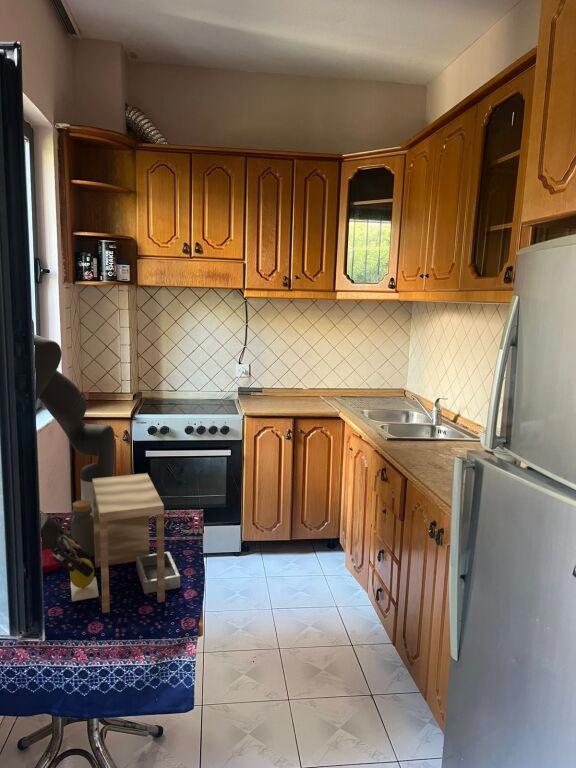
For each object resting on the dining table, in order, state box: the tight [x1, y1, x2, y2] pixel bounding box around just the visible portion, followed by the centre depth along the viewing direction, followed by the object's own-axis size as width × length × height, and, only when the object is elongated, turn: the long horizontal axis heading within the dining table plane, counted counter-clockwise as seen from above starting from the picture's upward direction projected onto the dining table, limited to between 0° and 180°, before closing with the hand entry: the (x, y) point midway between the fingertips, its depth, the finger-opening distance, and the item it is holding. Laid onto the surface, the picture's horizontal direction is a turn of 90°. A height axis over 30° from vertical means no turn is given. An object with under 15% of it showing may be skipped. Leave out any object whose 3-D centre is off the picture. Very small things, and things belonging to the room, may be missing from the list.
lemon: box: [69, 558, 95, 589], centre depth 134 cm, size 6×6×8 cm
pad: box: [70, 576, 100, 602], centre depth 135 cm, size 9×6×1 cm, turn 23°
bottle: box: [70, 500, 95, 557], centre depth 151 cm, size 6×6×15 cm
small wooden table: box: [92, 472, 166, 614], centre depth 137 cm, size 24×14×24 cm, turn 23°
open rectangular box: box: [135, 551, 181, 595], centre depth 142 cm, size 14×9×3 cm, turn 23°
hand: (90, 566), depth 135 cm, fingers open, 6 cm apart
